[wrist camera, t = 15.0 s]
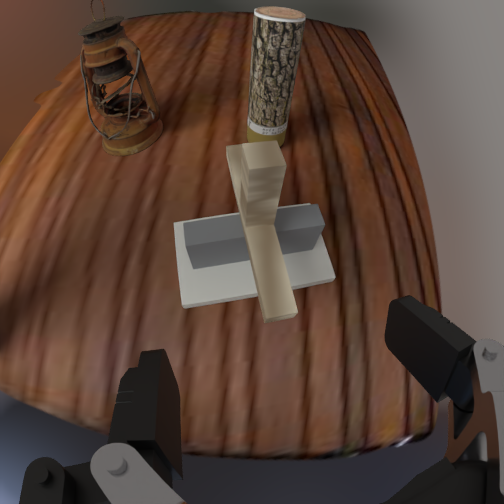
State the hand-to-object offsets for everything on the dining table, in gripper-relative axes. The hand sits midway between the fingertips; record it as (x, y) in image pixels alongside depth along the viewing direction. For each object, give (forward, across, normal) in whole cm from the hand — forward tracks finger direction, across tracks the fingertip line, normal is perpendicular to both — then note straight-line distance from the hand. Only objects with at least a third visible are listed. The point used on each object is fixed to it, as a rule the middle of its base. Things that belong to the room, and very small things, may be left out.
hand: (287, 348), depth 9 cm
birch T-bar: (+24, -4, +2) cm, 24 cm away
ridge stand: (+29, -4, +8) cm, 30 cm away
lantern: (+51, +14, -13) cm, 55 cm away
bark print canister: (+45, -11, -8) cm, 47 cm away
